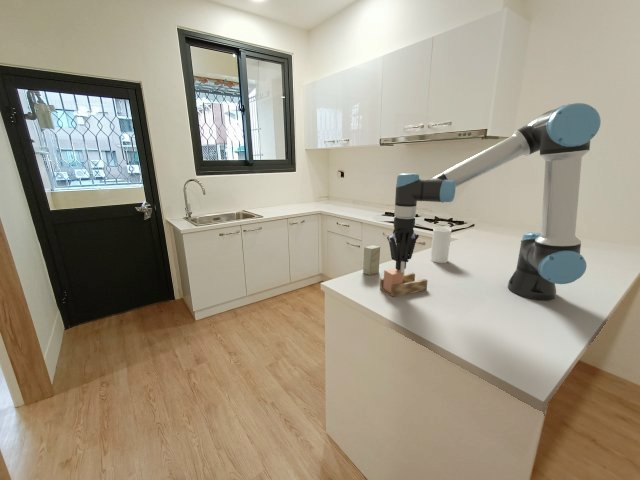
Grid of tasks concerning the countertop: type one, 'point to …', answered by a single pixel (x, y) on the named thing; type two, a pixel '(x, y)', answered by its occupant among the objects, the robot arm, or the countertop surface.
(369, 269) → the skincare box
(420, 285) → the chute
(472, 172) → the robot arm
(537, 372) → the countertop surface
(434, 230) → the cup
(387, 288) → the block
